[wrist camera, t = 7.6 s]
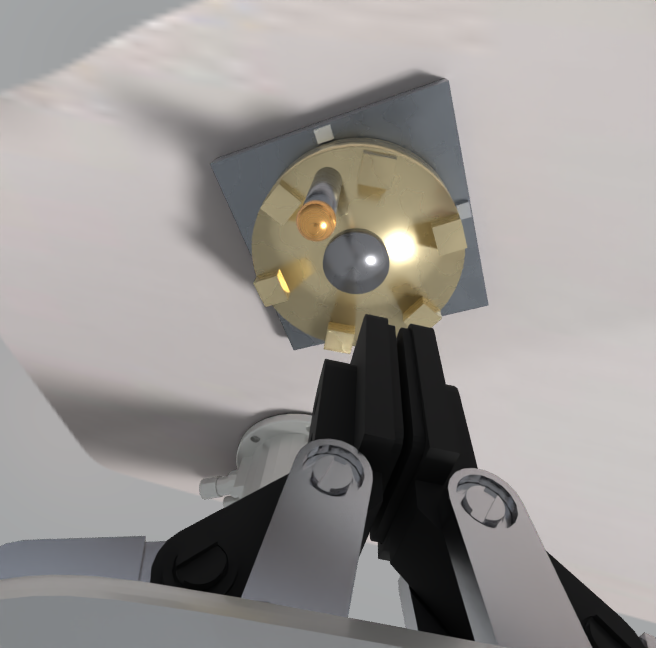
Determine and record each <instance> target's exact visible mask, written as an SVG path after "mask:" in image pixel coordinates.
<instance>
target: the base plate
mask: <svg viewBox="0 0 656 648" xmlns="http://www.w3.org/2000/svg"><path fill="white" fill-rule="evenodd" d="M346 138H373V139H380V140H384V141H388V142H391V143H394V144H397V145H399V146H401V147H404V148H406V149H408V150H410V151H411V152H413V153H414V154H416V155H418V156H419V157H420V158H422V159H423V160H424V161H425V162H426V163H428V164H429V165H430V166H431V167H432V168H433V170H434V171H435V172H436V173H437V174H438V175H439V177H440V178H441V180H442V181H443V183H444V184H445V186H446V187H447V190H448V192H449V194H450V196H451V198H452V200H453V202H454V204H455V206H456V208H457V210H458V213H459V215H460V218H461V222H462V225H463V230H464V235H465V239H466V244H467V248H465V258H464V265H463V269H462V273H461V276H460V279H459V282H458V284H457V286H456V289H455V291H454V292H453V294H452V296H451V297H450V299H449V301H448V302H447V303H446V304H445V306H444V307H443V308H442V309H441V311H440V312H441V316H444V315H449V314H453V313H457V312H462V311H466V310H470V309H475V308H479V307H483V306H488V300H487V294H486V289H485V283H484V277H483V272H482V266H481V261H480V255H479V249H478V244H477V238H476V232H475V227H474V221H473V215H472V210H471V204H470V198H469V193H468V187H467V181H466V176H465V170H464V165H463V159H462V153H461V148H460V142H459V136H458V131H457V125H456V119H455V114H454V108H453V102H452V97H451V91H450V85H449V80H447V79H445V78H444V79H441V80H439V81H436V82H433V83H430V84H427V85H424V86H422V87H419V88H416V89H413V90H410V91H407V92H404V93H402V94H399V95H396V96H393V97H390V98H387V99H385V100H382V101H379V102H376V103H373V104H370V105H367V106H365V107H362V108H359V109H356V110H353V111H350V112H348V113H345V114H342V115H339V116H336V117H333V118H330V119H328V120H325V121H322V122H319V123H316V124H313V125H311V126H308V127H305V128H302V129H299V130H296V131H294V132H291V133H288V134H285V135H282V136H279V137H276V138H274V139H271V140H268V141H265V142H262V143H259V144H257V145H254V146H251V147H248V148H245V149H242V150H239V151H237V152H234V153H231V154H228V155H225V156H222V157H220V158H217V159H216V160H214V161H213V162H212V163H211V164H210V165H211V167H212V169H213V172H214V174H215V176H216V178H217V180H218V183H219V185H220V187H221V189H222V192H223V194H224V196H225V198H226V200H227V203H228V205H229V207H230V209H231V212H232V214H233V216H234V218H235V220H236V223H237V225H238V227H239V229H240V232H241V234H242V236H243V238H244V241H245V243H246V245H247V247H248V249H249V252H250V254H251V256H252V235H253V228H254V224H255V221H256V218H257V214H258V212H259V210H260V208H261V206H262V204H263V201H264V200H265V198H266V197H267V195H268V194H269V192H270V191H271V189H272V187H273V186H274V184H275V183H276V181H277V180H278V178H279V177H280V175H281V174H282V173H283V172H284V171H285V170H286V169H287V167H288V166H289V165H291V164H292V163H293V162H294V161H295V160H296V159H298V158H299V157H300V156H302V155H303V154H305V153H306V152H308V151H310V150H311V149H314V148H316V147H318V146H320V145H322V144H325V143H328V142H332V141H335V140H340V139H346ZM275 310H276V309H275ZM276 312H277V311H276ZM277 314H278V316H279V318H280V321H281V323H282V325H283V327H284V330H285V332H286V334H287V336H288V338H289V341H290V343H291V345H292V347H293V350H297V349H302V348H306V347H310V346H315V345H319V344H323V343H325V341H323V340H320V339H318V338H315V337H313V336H311V335H309V334H307V333H304V332H303V331H301V330H299V329H298V328H296V327H295V326H293V325H292V324H291V323H289V322H288V321H287V320H286V319H284V318H283V317H282V316H281V315H280V314H279V313H278V312H277Z"/></svg>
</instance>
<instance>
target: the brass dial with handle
mask: <svg viewBox="0 0 656 648" xmlns="http://www.w3.org/2000/svg"><path fill="white" fill-rule="evenodd" d="M465 248H467V244H466V239H465V235H464V230H463V225H462V222H461V218H460V215H459V213H458V210H457V208H456V206H455V204H454V202H453V200H452V198H451V196H450V194H449V192H448V190H447V187H446V186H445V184H444V183H443V181H442V180H441V178H440V177H439V175H438V174H437V173H436V172H435V171H434V170H433V168H432V167H431V166H430V165H429V164H428V163H426V162H425V161H424V160H423V159H422V158H420V157H419V156H418V155H416V154H414V153H413V152H411V151H410V150H408V149H406V148H404V147H401V146H399V145H397V144H394V143H391V142H388V141H384V140H380V139H373V138H346V139H340V140H335V141H332V142H328V143H325V144H322V145H320V146H318V147H316V148H314V149H311V150H310V151H308V152H306V153H305V154H303V155H302V156H300V157H299V158H298V159H296V160H295V161H294V162H293V163H292V164H291V165H289V166H288V167H287V169H286V170H285V171H284V172H283V173H282V174H281V175H280V177H279V178H278V180H277V181H276V183H275V184H274V186H273V187H272V189H271V191H270V192H269V194H268V195H267V197H266V198H265V200H264V201H263V204H262V206H261V208H260V210H259V212H258V214H257V218H256V221H255V224H254V228H253V235H252V259H253V266H254V270H255V273H256V279H255V281H254V283H253V284H254V286H255V288H256V290H257V292H258V294H259V296H260V297H261V299H262V301H263V303H264V305H265V307H267V306H271V305H272V306H273V307H274V308H275V309H276V311H277V312H278V313H279V314H280V315H281V316H282V317H283V318H284V319H286V320H287V321H288V322H289V323H291V324H292V325H293V326H295V327H296V328H298V329H299V330H301V331H303V332H304V333H307V334H309V335H311V336H313V337H315V338H318V339H320V340H323V341H325V344H324V349H326V350H331V351H337V352H342V353H347V354H350V352H351V348H352V346H356V342H357V339H358V335H359V332H360V328H361V325H362V322H363V318H364V316H365V314H370V315H374V316H379V317H384V318H387V319H388V325H393V326H395V329H396V338H397V335H398V332H399V330H400V328H401V327H402V328H408V326H409V325H410V324H416V325H420V326H425V327H430V328H431V327H433V326H434V325H435V324H436V323H437V322H439V321H440V320H441V319H442V316H441V312H440V311H441V309H442V308H443V307H444V306H445V304H446V303H447V302H448V301H449V299H450V297H451V296H452V294H453V292H454V291H455V289H456V286H457V284H458V282H459V279H460V276H461V273H462V269H463V265H464V258H465Z"/></svg>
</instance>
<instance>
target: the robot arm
mask: <svg viewBox="0 0 656 648" xmlns="http://www.w3.org/2000/svg"><path fill="white" fill-rule="evenodd" d="M236 464H237V468H238V470H234V471H231V472H230V474H229V476H224V477H222V476H217V477H211V478H205V479H203V480H201V482H200V485H199V491H200V495H201V497H202V498H203V499H212V498H218V497H222V496H223V495H230V494H231V496H226V497H225V498H224V500H223V506H224V508H223V509H221V510H219V511H217V512H215V513H214V514H212V515H210V516H208V517H206V518H204V519H202V520H200V521H199V522H197V523H195V524H193V525H191V526H189V527H187V528H185V529H184V530H182V531H180V532H178V533H177V534H176V535H174V536H173V537H171V538H170V539H169V540H167V541H158V542H146V537H145V536H130V537H98V538H69V539H40V540H39V539H38V540H21V541H17V542H11V543H6V544H4V545H2V546H0V648H656V637H654V636H652V635H649V634H647V633H645V632H644V633H643V634H642V635H641V636H639V637H638V636H637V634H636V633H635V631H634V630H633V629H632V628H631V627H630V626H629V625H628V624H627V623H626V622H625V621H624V620H623V619H622V618H621V617H620V616H619V615H618V614H617V613H616V612H615V611H613V610H612V609H611V608H610V607H609V606H608V605H607V604H605V603H604V602H603V601H602V600H601V599H600V598H599V597H598V596H596V595H595V594H594V593H593V592H592V591H591V590H590V589H589V588H587V587H586V586H585V585H584V584H583V583H582V582H581V581H580V580H578V579H577V578H576V577H575V576H574V575H573V574H572V573H571V572H569V571H568V570H567V569H566V568H565V567H564V566H563V565H562V564H560V563H559V562H558V561H557V560H556V559H555V558H554V557H553V556H551V555H550V554H549V553H548V552H547V551H546V550H545V548H544V546H543V544H542V542H541V540H540V538H539V536H538V533H537V531H536V529H535V527H534V525H533V523H532V521H531V519H530V517H529V515H528V512H527V510H526V508H525V506H524V504H523V502H522V501H521V499H520V498H519V496H518V494H517V493H516V492H515V491H514V490H513V489H512V488H511V486H510V485H509V484H508V483H506V482H505V481H504V480H502V479H501V478H499V477H498V476H496V475H494V474H492V473H490V472H487V471H485V470H481V469H478V468H477V464H476V460H475V456H474V451H473V447H472V443H471V439H470V435H469V431H468V427H467V423H466V419H465V415H464V411H463V407H462V403H461V399H460V395H459V391H458V389H457V388H456V387H455V386H451V385H447V384H445V379H444V374H443V370H442V365H441V360H440V356H439V351H438V346H437V342H436V337H435V332H434V329H433V328H430V327H425V326H420V325H416V324H410V325H409V326H408V328H402V327H401V328H400V330H399V332H398V335H397V338H396V329H395V326H393V325H388V319H387V318H384V317H379V316H374V315H370V314H365V316H364V318H363V322H362V325H361V328H360V332H359V335H358V339H357V342H356V346H355V349H354V353H353V356H352V360H351V363H350V364H347V363H343V362H338V361H333V360H329V359H325V361H324V364H323V368H322V372H321V376H320V380H319V384H318V388H317V393H316V397H315V402H314V407H313V413H312V415H306V414H284V415H277V416H273V417H270V418H266V419H264V420H262V421H260V422H258V423H256V424H255V425H254V426H252V427H251V428H250V429H248V431H247V432H246V433H245V434H244V436H243V437H242V439H241V442H240V444H239V447H238V451H237V454H236ZM369 532H370V540H371V541H375V542H378V559H382V560H388V561H390V564H391V565H392V566H393V567H394V568H395V570H396V571H397V572H398V573H399V574H400V577H399V580H398V584H399V595H400V600H401V605H402V611H403V616H404V621H405V627H406V628H401V627H396V626H391V625H385V624H380V623H374V622H369V621H363V620H358V619H353V618H348V614H349V609H350V603H351V597H352V592H353V587H354V580H355V576H356V570H357V565H358V559H359V556H360V553H361V551H362V549H363V547H364V544H365V542H366V540H367V537H368V535H369Z"/></svg>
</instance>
